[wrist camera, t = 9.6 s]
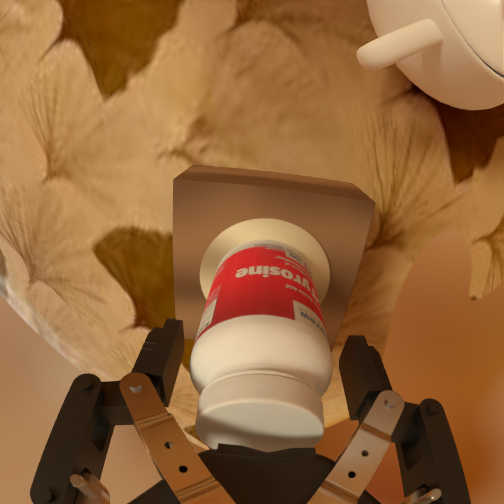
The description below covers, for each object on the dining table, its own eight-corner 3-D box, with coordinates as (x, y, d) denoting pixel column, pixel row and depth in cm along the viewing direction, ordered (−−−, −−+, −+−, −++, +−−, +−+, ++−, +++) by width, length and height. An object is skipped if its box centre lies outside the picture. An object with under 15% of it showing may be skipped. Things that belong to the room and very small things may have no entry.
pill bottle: (329, 261, 18) (381, 410, 8) (282, 329, 21) (289, 474, 11) (239, 218, 17) (206, 361, 7) (201, 296, 20) (157, 442, 10)
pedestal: (192, 165, 21) (172, 180, 17) (353, 183, 21) (376, 203, 17) (190, 300, 26) (176, 339, 22) (322, 313, 27) (332, 353, 22)
